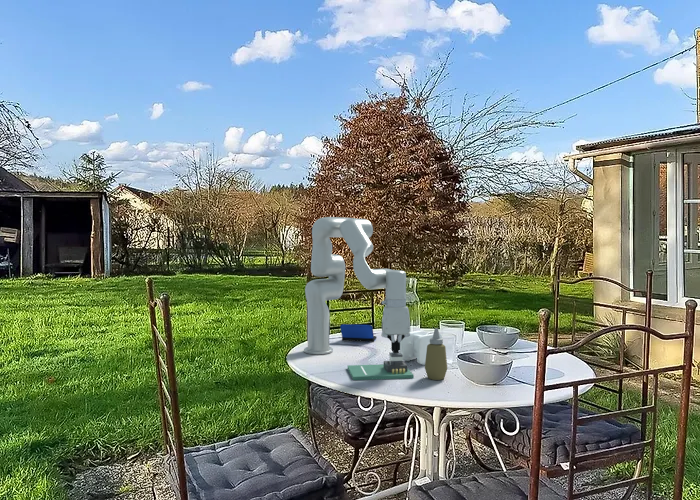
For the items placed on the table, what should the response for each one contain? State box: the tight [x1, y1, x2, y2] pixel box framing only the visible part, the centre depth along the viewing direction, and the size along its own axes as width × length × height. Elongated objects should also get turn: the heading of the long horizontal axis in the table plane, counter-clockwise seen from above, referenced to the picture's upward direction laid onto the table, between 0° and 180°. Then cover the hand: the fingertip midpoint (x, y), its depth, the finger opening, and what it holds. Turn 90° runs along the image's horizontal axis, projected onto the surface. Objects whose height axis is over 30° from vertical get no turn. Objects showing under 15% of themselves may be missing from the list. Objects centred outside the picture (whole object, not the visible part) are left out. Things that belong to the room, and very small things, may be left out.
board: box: [347, 360, 415, 381], centre depth 200 cm, size 16×22×5 cm
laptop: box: [339, 323, 377, 343], centre depth 259 cm, size 16×13×9 cm
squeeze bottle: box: [424, 328, 448, 381], centre depth 194 cm, size 8×8×18 cm
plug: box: [388, 351, 404, 365], centre depth 201 cm, size 4×4×6 cm
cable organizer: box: [399, 330, 443, 366], centre depth 219 cm, size 15×11×12 cm
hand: (395, 352), depth 201 cm, fingers closed
